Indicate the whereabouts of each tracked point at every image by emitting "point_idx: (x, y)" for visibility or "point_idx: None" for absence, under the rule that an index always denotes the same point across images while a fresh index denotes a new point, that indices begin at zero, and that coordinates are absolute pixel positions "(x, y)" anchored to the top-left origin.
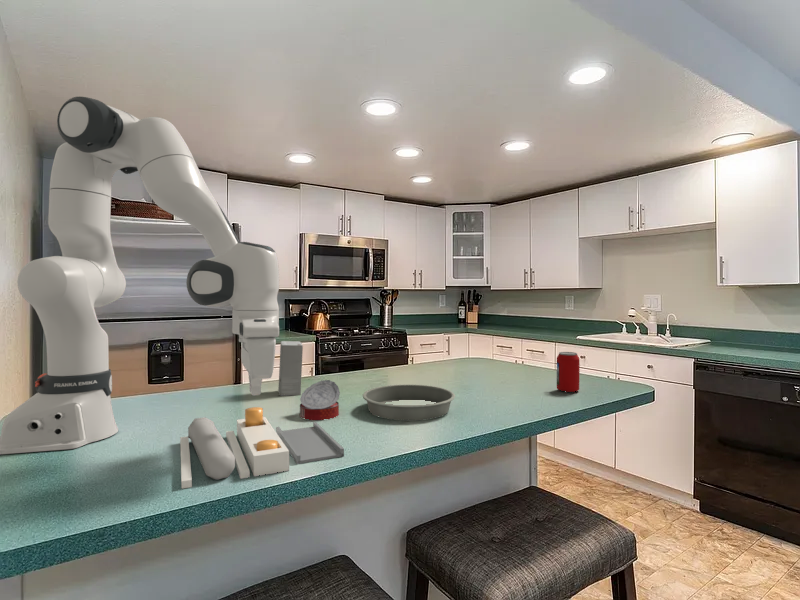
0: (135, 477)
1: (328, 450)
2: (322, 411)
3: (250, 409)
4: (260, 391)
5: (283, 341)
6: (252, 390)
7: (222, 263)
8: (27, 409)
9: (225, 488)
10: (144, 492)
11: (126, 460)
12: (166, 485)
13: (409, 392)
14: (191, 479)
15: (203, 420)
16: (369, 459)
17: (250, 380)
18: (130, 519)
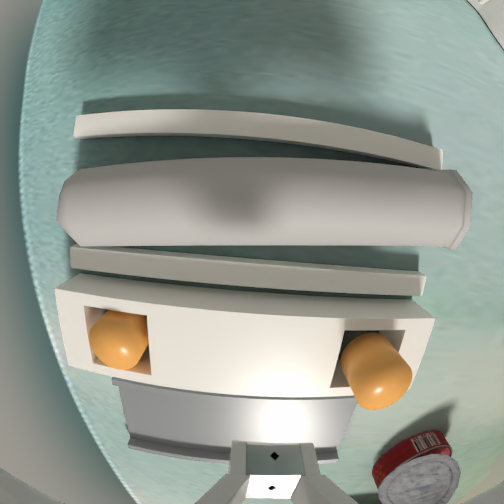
0: (214, 24)
1: (158, 434)
2: (382, 474)
3: (391, 377)
4: (228, 473)
5: None
6: (231, 459)
7: None
8: None
9: (49, 206)
10: (111, 51)
11: (355, 20)
12: (121, 86)
13: None
14: (75, 136)
15: (451, 215)
16: (108, 450)
17: (314, 493)
18: (29, 59)
